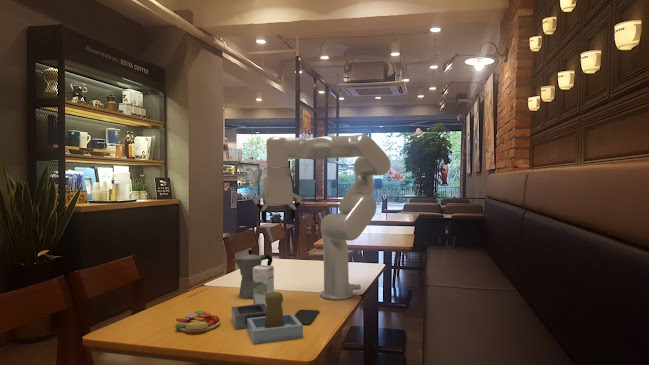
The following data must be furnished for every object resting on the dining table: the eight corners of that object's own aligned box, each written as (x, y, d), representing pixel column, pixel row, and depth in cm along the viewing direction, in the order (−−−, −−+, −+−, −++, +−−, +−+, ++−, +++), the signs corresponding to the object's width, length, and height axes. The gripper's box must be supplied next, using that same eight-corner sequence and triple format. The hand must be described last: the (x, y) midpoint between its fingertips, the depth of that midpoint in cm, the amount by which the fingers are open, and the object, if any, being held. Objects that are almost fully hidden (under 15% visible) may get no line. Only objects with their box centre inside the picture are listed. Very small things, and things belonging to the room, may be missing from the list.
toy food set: (195, 337, 127) (195, 326, 127) (165, 330, 134) (165, 319, 134) (228, 324, 138) (228, 314, 138) (199, 318, 145) (199, 308, 145)
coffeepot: (236, 301, 164) (235, 252, 164) (231, 295, 173) (230, 249, 173) (276, 296, 170) (275, 249, 170) (269, 290, 179) (268, 246, 179)
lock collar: (279, 310, 152) (279, 298, 152) (289, 323, 138) (289, 310, 138) (230, 315, 146) (230, 303, 146) (235, 329, 132) (235, 316, 132)
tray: (292, 324, 136) (292, 313, 136) (302, 337, 125) (302, 325, 125) (247, 330, 132) (247, 318, 132) (253, 344, 120) (253, 331, 120)
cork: (281, 334, 125) (281, 295, 125) (261, 333, 126) (260, 294, 126) (287, 327, 131) (286, 290, 131) (268, 326, 132) (267, 289, 132)
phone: (320, 310, 150) (310, 324, 135) (320, 312, 150) (310, 326, 135) (299, 309, 151) (287, 322, 136) (299, 311, 151) (287, 325, 136)
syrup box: (274, 305, 157) (274, 265, 157) (267, 310, 152) (266, 268, 152) (260, 304, 159) (260, 264, 159) (252, 308, 154) (252, 267, 154)
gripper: (298, 172, 160) (299, 219, 160) (251, 173, 155) (252, 221, 155) (304, 172, 153) (305, 221, 153) (254, 172, 148) (255, 223, 148)
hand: (278, 221), depth 154 cm, fingers open, 9 cm apart
